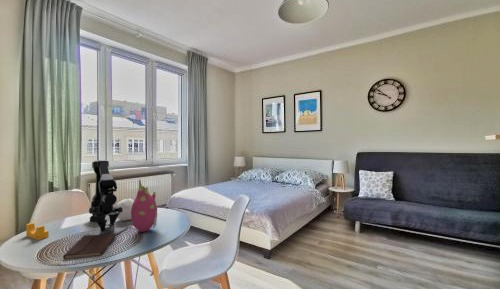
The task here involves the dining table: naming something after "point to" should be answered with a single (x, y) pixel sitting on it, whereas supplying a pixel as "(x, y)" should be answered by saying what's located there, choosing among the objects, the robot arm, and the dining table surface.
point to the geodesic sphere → (125, 209)
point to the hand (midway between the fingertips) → (107, 229)
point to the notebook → (90, 246)
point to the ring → (108, 228)
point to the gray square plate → (116, 231)
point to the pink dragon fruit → (144, 210)
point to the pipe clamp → (36, 231)
